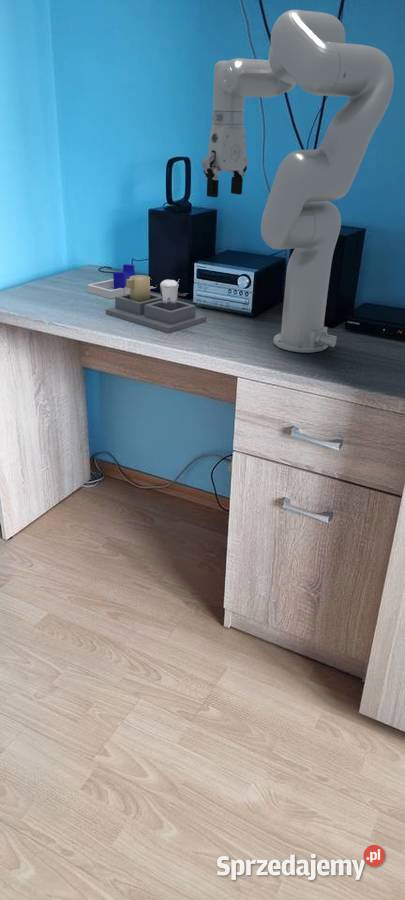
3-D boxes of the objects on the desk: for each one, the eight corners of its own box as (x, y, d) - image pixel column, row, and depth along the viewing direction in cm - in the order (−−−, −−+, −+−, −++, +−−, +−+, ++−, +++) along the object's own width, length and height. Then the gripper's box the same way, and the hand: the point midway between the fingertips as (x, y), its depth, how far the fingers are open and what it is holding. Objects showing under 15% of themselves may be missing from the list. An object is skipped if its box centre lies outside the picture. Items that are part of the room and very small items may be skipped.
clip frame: (156, 287, 196) (156, 280, 195) (110, 298, 184) (110, 291, 183) (132, 281, 201) (132, 274, 201) (87, 291, 189) (86, 284, 188)
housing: (206, 321, 168) (207, 284, 163) (168, 333, 158) (168, 294, 154) (144, 303, 180) (144, 269, 176) (105, 313, 170) (104, 277, 166)
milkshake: (173, 321, 163) (173, 280, 158) (156, 316, 165) (156, 276, 161) (184, 317, 166) (185, 277, 161) (167, 313, 169) (168, 273, 164)
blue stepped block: (120, 284, 198) (119, 263, 195) (134, 285, 197) (134, 264, 195) (108, 293, 187) (108, 272, 185) (124, 294, 187) (123, 273, 184)
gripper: (217, 120, 152) (214, 199, 160) (261, 120, 164) (256, 194, 172) (192, 119, 156) (190, 196, 164) (237, 119, 168) (233, 191, 176)
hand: (224, 195), depth 168 cm, fingers open, 9 cm apart
